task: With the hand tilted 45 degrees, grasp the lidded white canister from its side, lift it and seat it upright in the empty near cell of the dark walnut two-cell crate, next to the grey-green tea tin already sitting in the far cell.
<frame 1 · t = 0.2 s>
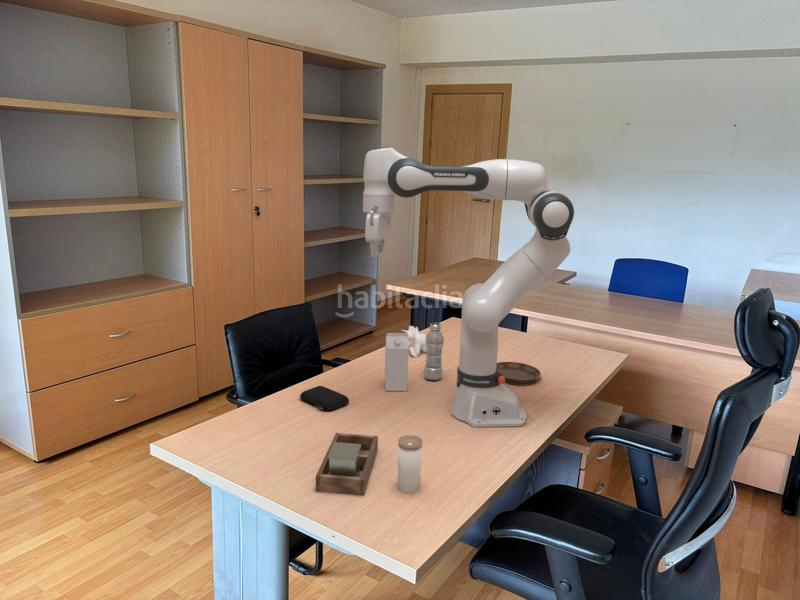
hand: (377, 254, 164), 47 cm above the table, tool pointing down, fingers open, 8 cm apart
carrying case or bag: (323, 403, 178), on the table
lidded white canister: (408, 491, 131), on the table
crate: (348, 473, 138), on the table
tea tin: (344, 480, 133), point 1 cm above the table, touching crate
plant saucer: (514, 378, 204), on the table
milk carton: (395, 387, 191), on the table
plastic bottle: (432, 379, 200), on the table
character figurine: (415, 353, 226), on the table
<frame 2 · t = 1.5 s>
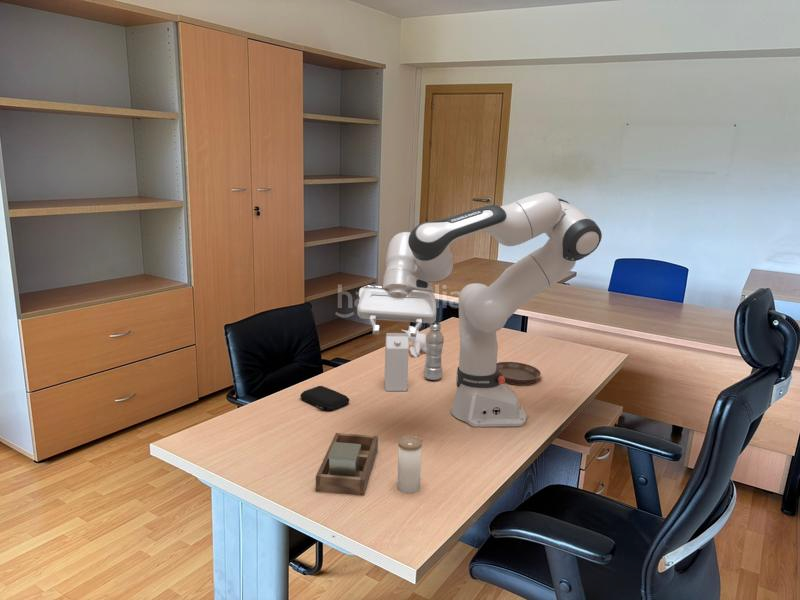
hand: (394, 334, 142), 32 cm above the table, tool tilted 45°, fingers open, 8 cm apart
nothing on the table moved.
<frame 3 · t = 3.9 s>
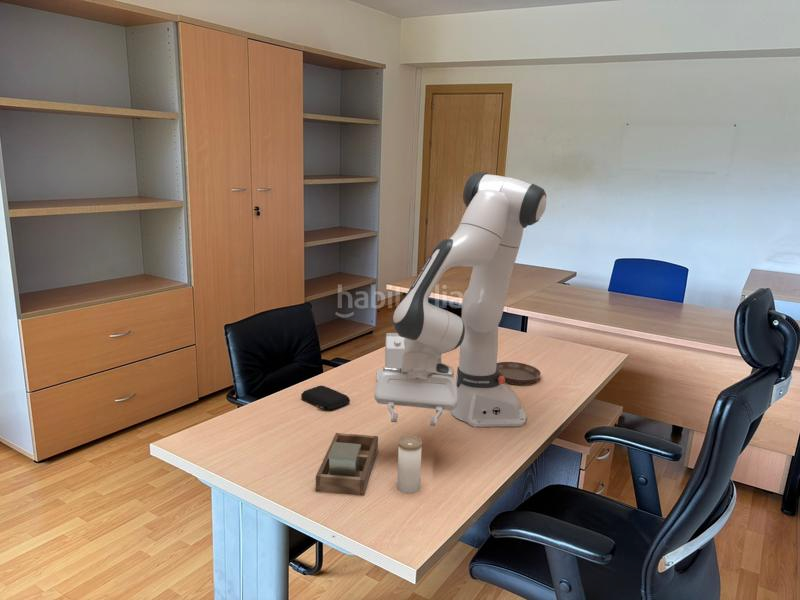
hand: (413, 423, 135), 13 cm above the table, tool tilted 45°, fingers open, 8 cm apart
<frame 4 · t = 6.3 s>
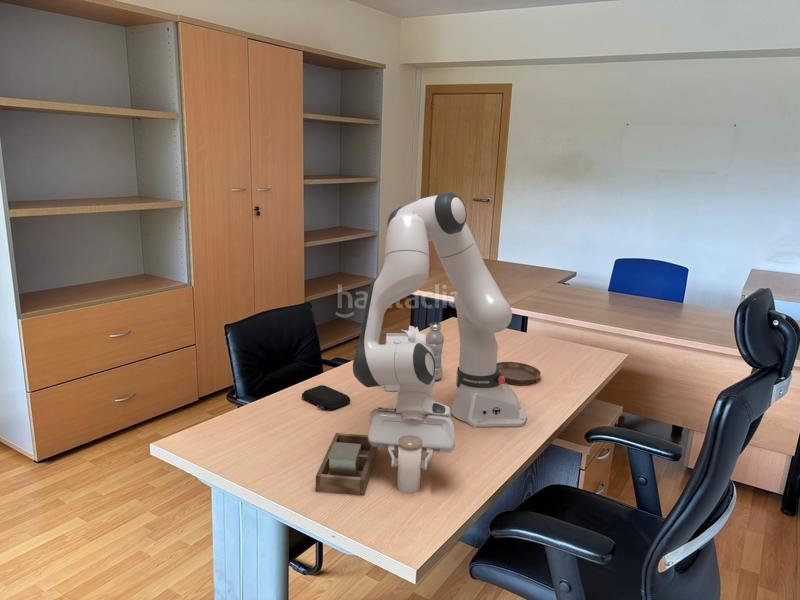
hand: (409, 468, 129), 6 cm above the table, tool tilted 45°, fingers closed on lidded white canister, 5 cm apart
lidded white canister: (408, 491, 131), on the table, touching gripper
everything else where it was.
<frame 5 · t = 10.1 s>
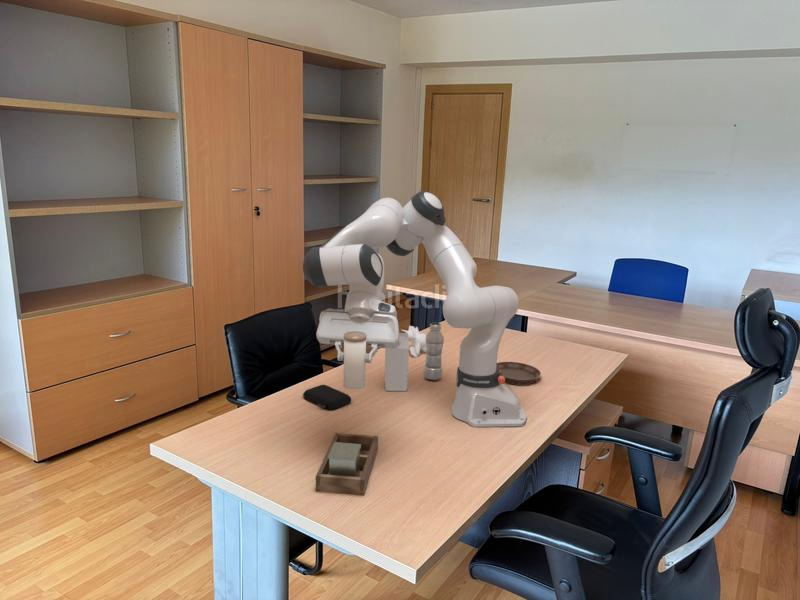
hand: (354, 361, 136), 27 cm above the table, tool tilted 45°, fingers closed on lidded white canister, 5 cm apart
lidded white canister: (354, 385, 138), point 21 cm above the table, touching gripper
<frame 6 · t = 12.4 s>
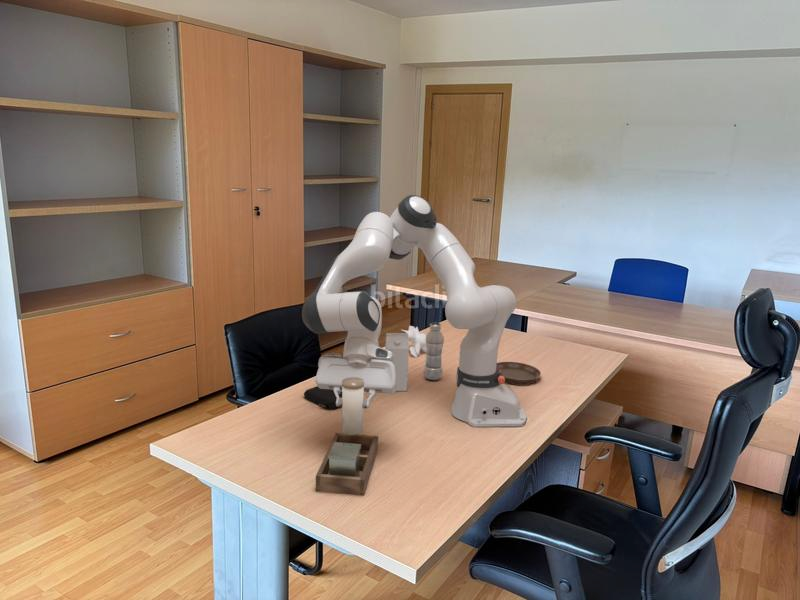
hand: (352, 406, 139), 15 cm above the table, tool tilted 45°, fingers closed on lidded white canister, 5 cm apart
lidded white canister: (352, 429, 141), point 9 cm above the table, touching gripper
when the fingers open (9 cm above the table, at t = 14.2 s): lidded white canister drops 1 cm, resting on crate.
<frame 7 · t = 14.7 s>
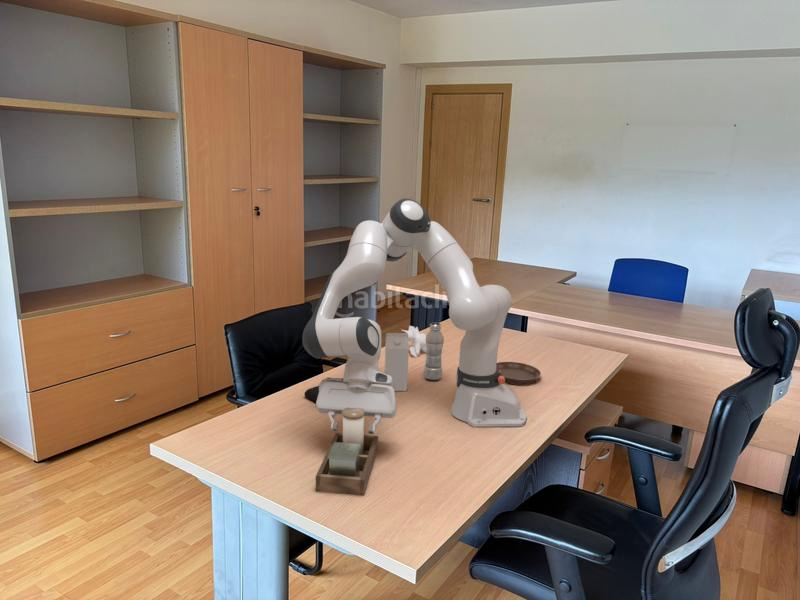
hand: (352, 431, 140), 9 cm above the table, tool tilted 45°, fingers open, 8 cm apart
lidded white canister: (353, 458, 143), point 1 cm above the table, touching crate
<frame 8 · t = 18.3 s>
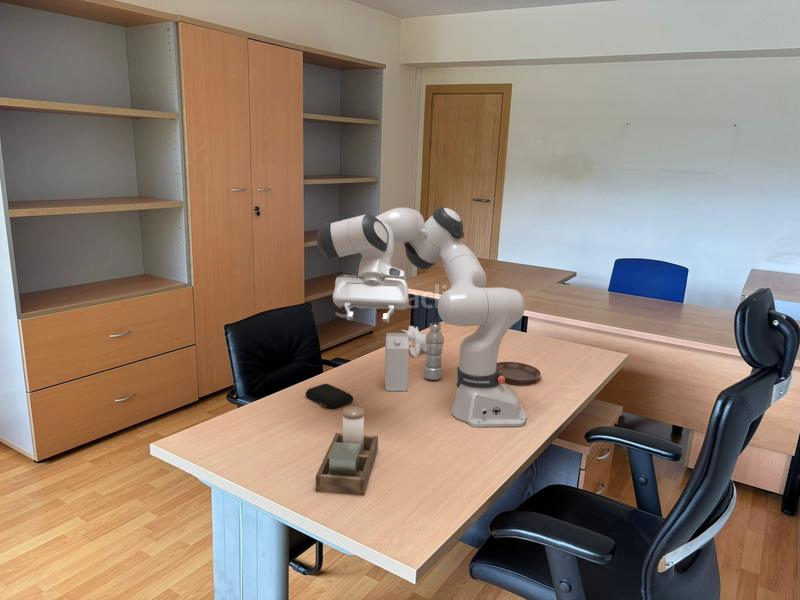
hand: (367, 320, 148), 33 cm above the table, tool tilted 45°, fingers open, 8 cm apart
at the end: lidded white canister 0.1 cm from the target spot on the crate, point 1.2 cm above the crate's base; lidded white canister tilted 1°; the gripper is holding nothing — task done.
